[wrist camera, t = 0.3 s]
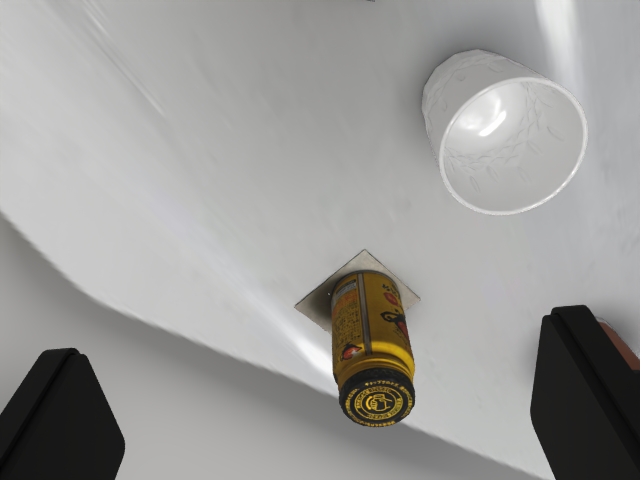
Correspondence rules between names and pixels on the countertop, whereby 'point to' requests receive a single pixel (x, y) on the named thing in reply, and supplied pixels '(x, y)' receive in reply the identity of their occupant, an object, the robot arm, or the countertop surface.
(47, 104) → the countertop surface
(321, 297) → the condiment
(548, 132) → the white cup
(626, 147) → the countertop surface
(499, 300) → the countertop surface
